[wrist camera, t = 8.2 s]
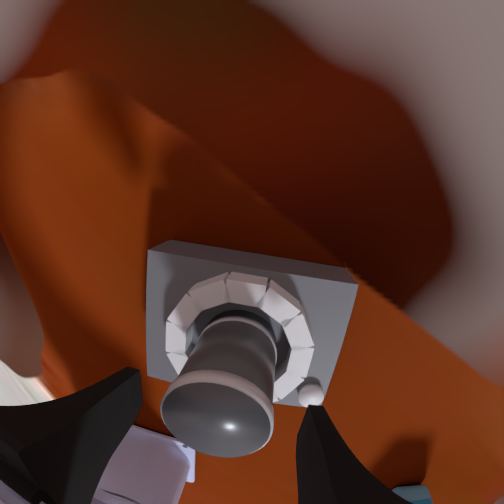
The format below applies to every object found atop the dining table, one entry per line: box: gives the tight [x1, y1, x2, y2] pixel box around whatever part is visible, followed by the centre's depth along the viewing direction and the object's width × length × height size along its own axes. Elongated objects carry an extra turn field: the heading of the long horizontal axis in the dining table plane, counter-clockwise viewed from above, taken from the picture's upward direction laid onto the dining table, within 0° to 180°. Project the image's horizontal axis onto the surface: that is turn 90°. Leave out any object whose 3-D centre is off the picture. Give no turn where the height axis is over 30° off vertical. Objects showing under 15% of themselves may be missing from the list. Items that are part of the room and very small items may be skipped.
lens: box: [160, 310, 277, 457], centre depth 13 cm, size 5×5×7 cm
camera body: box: [146, 239, 358, 407], centre depth 18 cm, size 12×9×5 cm
